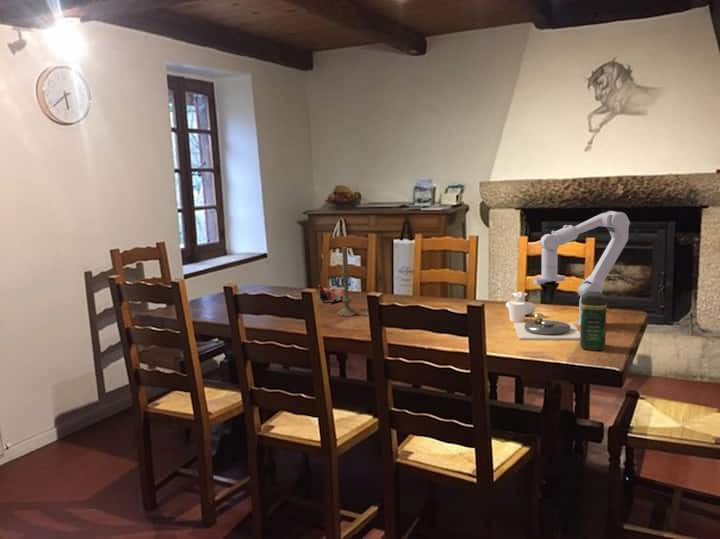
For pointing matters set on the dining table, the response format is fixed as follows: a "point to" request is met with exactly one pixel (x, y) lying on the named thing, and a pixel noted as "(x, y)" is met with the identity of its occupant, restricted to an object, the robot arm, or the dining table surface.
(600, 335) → the coffee jar
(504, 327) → the dining table surface
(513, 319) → the white cylinder
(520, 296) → the bust
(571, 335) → the wheel base
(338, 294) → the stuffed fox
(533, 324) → the handwheel
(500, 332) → the dining table surface
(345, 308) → the candlestick holder
